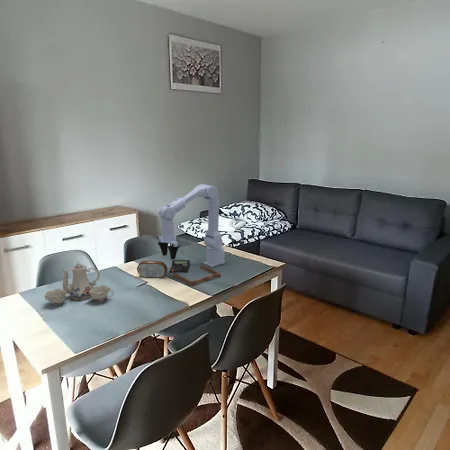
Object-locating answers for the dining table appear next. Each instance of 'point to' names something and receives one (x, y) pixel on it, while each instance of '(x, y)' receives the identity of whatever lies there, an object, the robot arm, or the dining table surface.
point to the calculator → (180, 266)
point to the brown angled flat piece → (201, 280)
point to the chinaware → (78, 287)
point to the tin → (152, 269)
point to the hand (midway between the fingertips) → (169, 257)
